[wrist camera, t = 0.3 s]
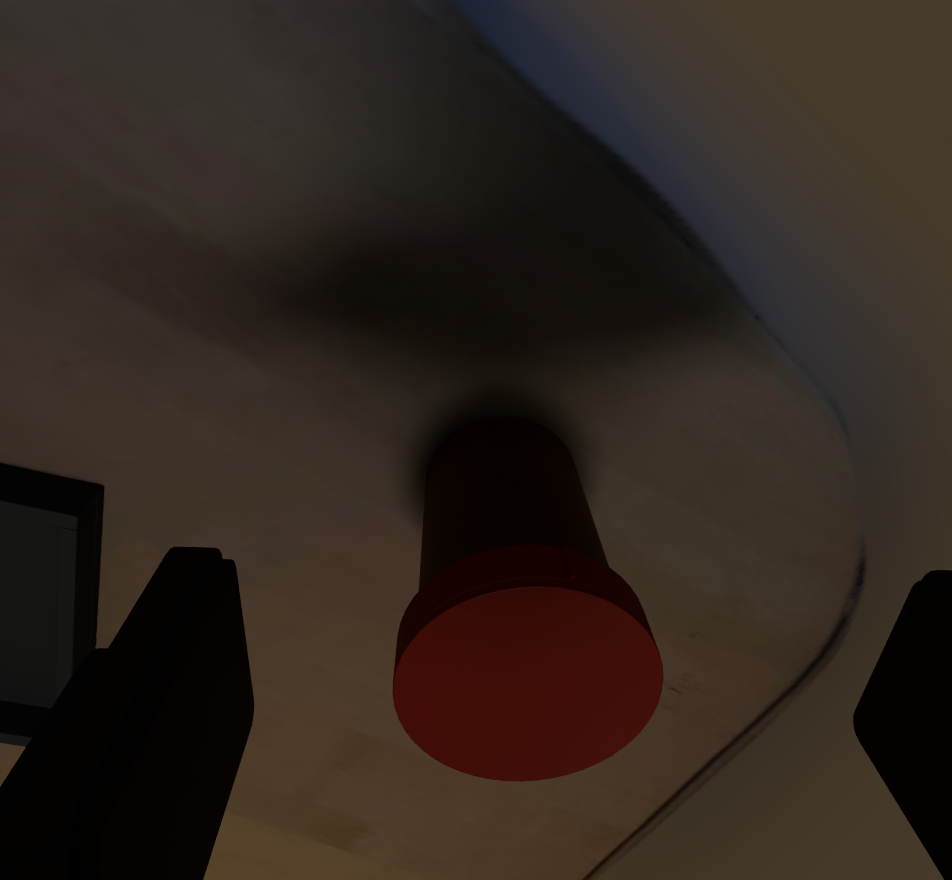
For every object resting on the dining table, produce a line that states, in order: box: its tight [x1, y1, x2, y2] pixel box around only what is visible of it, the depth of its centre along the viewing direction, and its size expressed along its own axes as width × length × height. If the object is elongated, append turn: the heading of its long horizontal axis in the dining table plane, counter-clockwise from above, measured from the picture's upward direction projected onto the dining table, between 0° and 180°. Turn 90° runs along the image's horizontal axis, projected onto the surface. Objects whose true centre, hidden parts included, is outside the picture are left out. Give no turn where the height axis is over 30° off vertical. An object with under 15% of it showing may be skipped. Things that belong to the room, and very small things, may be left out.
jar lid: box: [393, 544, 663, 781], centre depth 17 cm, size 7×6×2 cm
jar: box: [419, 416, 609, 590], centre depth 21 cm, size 6×6×9 cm
